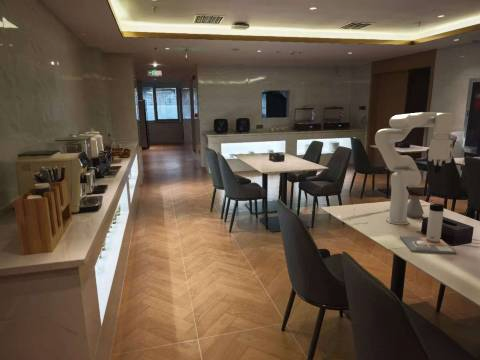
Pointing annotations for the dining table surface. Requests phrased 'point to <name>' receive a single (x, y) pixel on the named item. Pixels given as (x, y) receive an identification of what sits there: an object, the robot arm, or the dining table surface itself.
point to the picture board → (427, 245)
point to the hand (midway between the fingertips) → (437, 172)
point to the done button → (421, 243)
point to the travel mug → (435, 223)
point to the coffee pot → (414, 207)
